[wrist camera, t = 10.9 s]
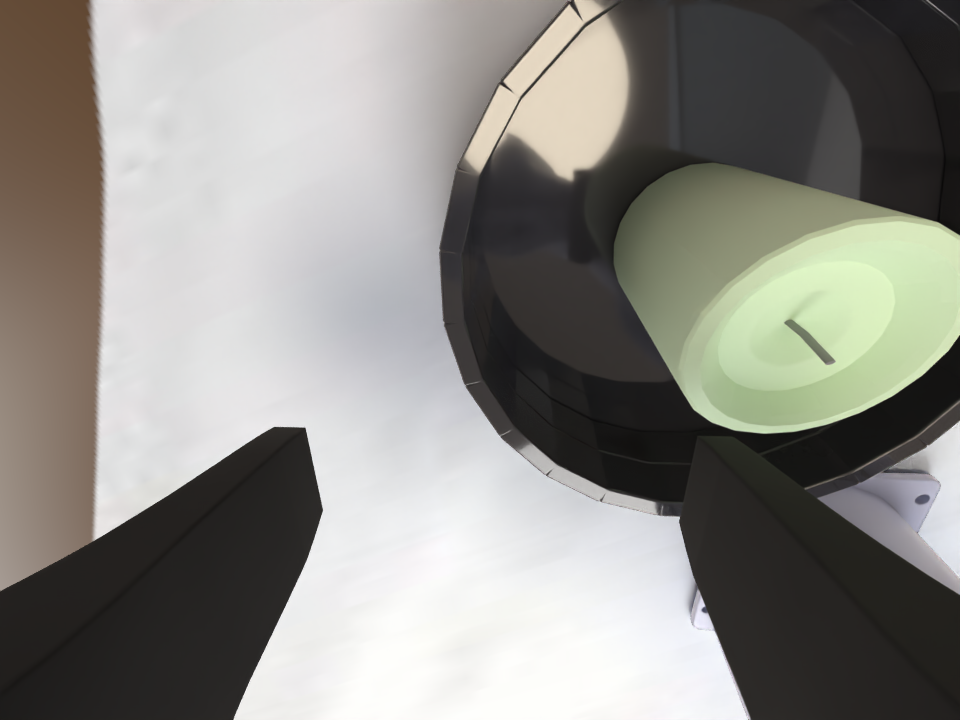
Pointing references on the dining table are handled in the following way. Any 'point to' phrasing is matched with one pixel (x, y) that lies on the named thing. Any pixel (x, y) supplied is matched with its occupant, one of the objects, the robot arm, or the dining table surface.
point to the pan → (644, 159)
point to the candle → (785, 295)
